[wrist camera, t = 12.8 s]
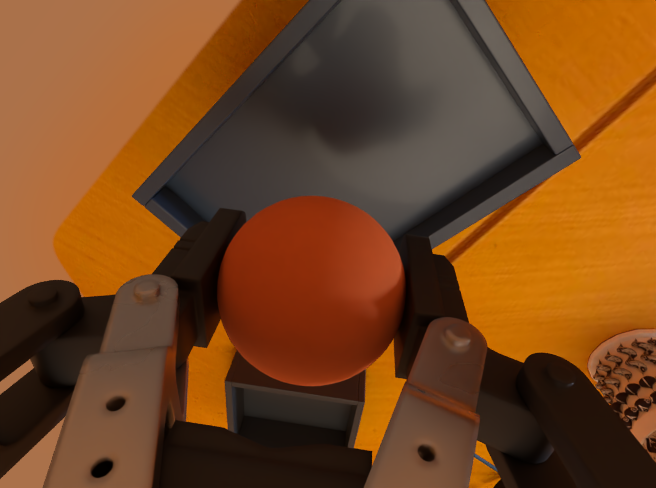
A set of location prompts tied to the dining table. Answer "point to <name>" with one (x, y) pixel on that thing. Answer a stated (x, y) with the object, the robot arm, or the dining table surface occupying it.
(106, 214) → the dining table surface
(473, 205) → the tray
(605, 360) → the decorative candle
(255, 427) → the bin
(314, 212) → the ball
